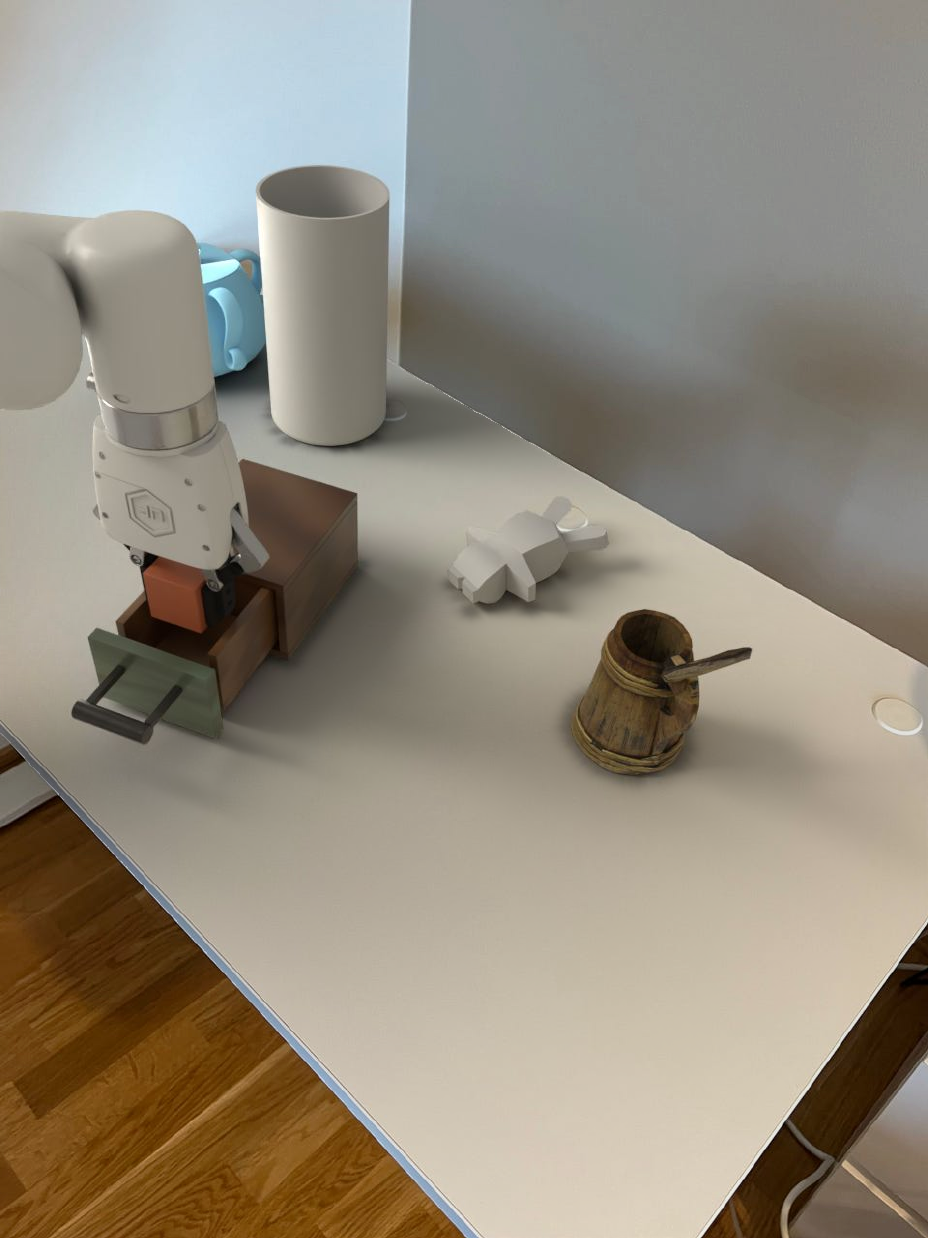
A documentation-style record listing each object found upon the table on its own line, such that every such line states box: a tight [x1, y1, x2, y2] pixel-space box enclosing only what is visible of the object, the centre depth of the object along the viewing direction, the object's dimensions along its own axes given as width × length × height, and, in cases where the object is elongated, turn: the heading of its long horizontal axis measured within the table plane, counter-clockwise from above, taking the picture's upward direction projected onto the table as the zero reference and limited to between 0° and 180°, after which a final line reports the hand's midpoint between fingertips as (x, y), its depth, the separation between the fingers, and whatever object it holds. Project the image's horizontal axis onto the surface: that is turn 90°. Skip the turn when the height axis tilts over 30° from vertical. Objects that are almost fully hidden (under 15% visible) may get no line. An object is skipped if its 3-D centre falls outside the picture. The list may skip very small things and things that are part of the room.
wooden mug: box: [570, 608, 753, 776], centre depth 80 cm, size 9×14×18 cm, turn 20°
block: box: [143, 556, 207, 633], centre depth 82 cm, size 4×4×4 cm
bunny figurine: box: [447, 495, 610, 605], centre depth 100 cm, size 10×5×15 cm
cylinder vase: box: [255, 164, 391, 447], centre depth 109 cm, size 12×12×25 cm
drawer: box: [71, 578, 279, 746], centre depth 84 cm, size 18×10×7 cm, turn 158°
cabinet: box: [231, 458, 359, 661], centre depth 94 cm, size 14×12×9 cm
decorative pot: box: [196, 242, 266, 378], centre depth 120 cm, size 16×16×14 cm
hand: (191, 604), depth 84 cm, fingers closed on block, 4 cm apart
